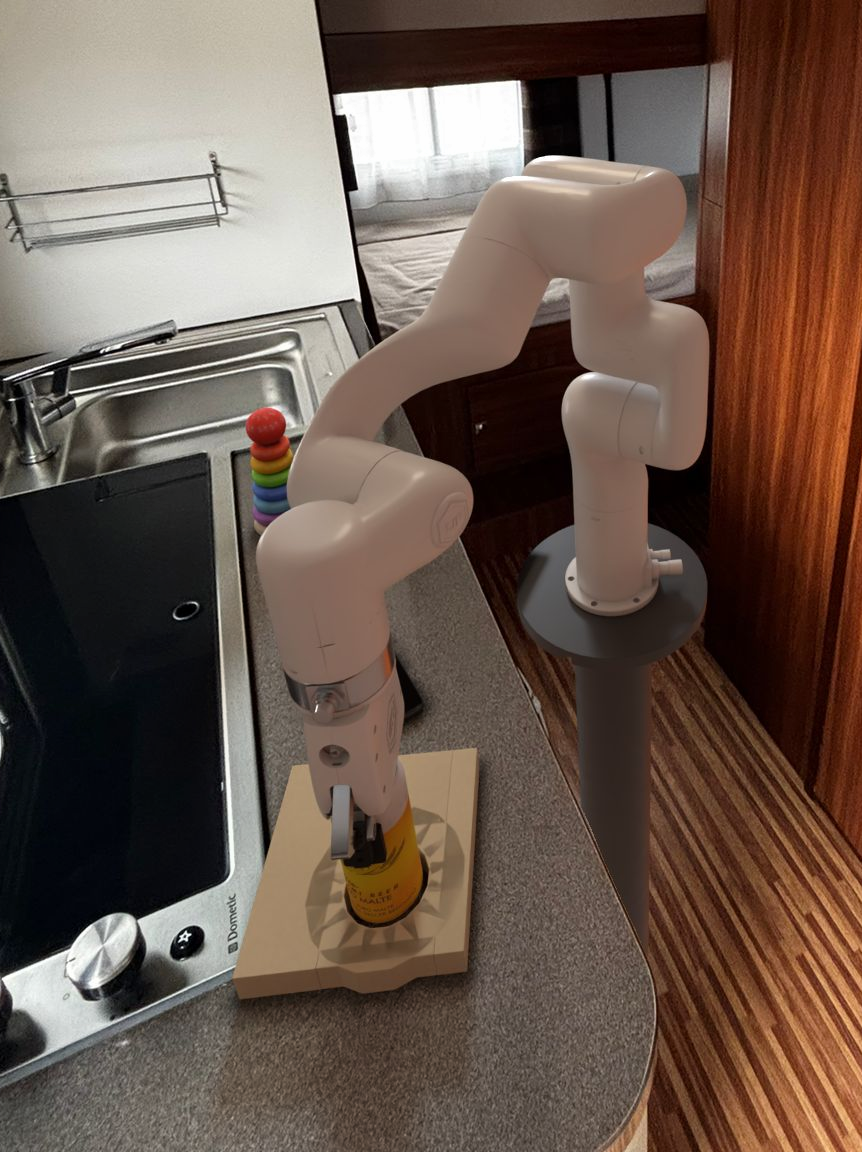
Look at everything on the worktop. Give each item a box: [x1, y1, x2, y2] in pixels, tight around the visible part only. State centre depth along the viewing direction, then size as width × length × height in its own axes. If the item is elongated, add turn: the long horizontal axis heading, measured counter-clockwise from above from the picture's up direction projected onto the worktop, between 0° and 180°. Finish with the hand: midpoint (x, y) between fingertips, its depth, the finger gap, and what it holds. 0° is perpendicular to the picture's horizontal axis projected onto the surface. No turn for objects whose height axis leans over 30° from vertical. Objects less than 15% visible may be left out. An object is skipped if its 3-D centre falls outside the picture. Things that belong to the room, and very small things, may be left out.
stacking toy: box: [245, 407, 294, 537], centre depth 113 cm, size 8×8×19 cm
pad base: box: [231, 747, 480, 1000], centre depth 73 cm, size 18×19×3 cm
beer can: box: [330, 759, 424, 924], centre depth 68 cm, size 6×6×15 cm
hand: (373, 816), depth 67 cm, fingers closed on beer can, 6 cm apart
